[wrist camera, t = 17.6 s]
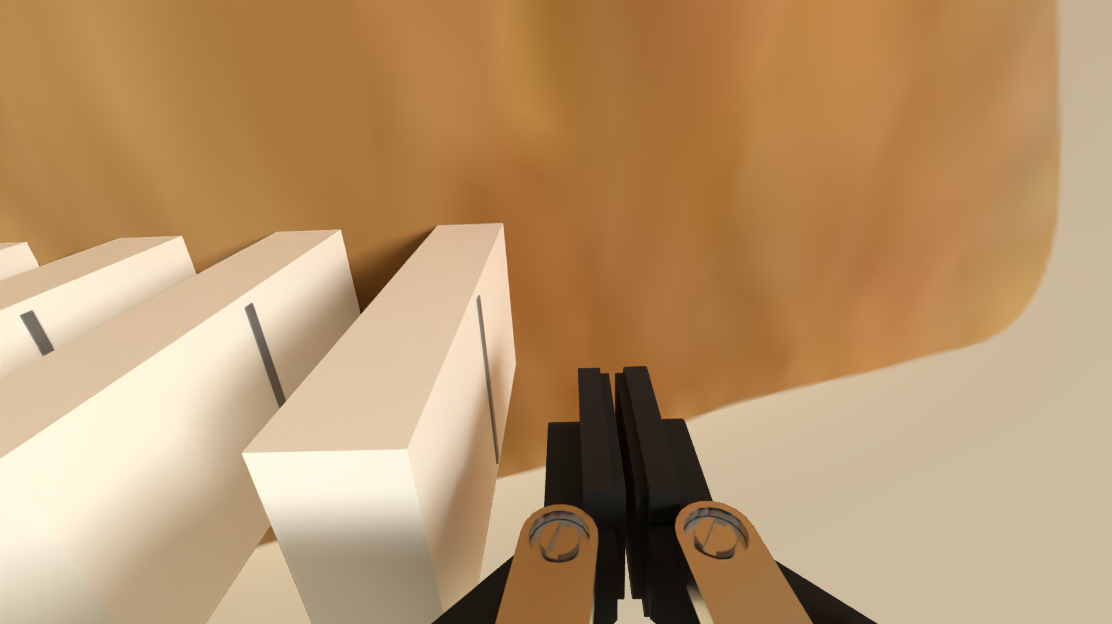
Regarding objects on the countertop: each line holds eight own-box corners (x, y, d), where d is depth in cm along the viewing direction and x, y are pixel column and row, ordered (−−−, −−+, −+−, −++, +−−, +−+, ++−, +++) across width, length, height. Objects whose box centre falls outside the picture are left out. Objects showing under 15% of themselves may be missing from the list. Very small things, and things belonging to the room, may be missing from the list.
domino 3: (183, 235, 18) (-381, 467, 7) (235, 372, 21) (-125, 693, 10) (117, 238, 18) (-533, 470, 7) (178, 374, 21) (-241, 694, 10)
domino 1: (504, 223, 18) (410, 449, 7) (517, 364, 20) (463, 689, 10) (436, 225, 18) (237, 452, 7) (457, 365, 20) (336, 690, 10)
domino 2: (341, 229, 18) (4, 458, 7) (374, 368, 21) (163, 691, 10) (275, 232, 18) (-159, 462, 7) (316, 370, 21) (43, 691, 10)
